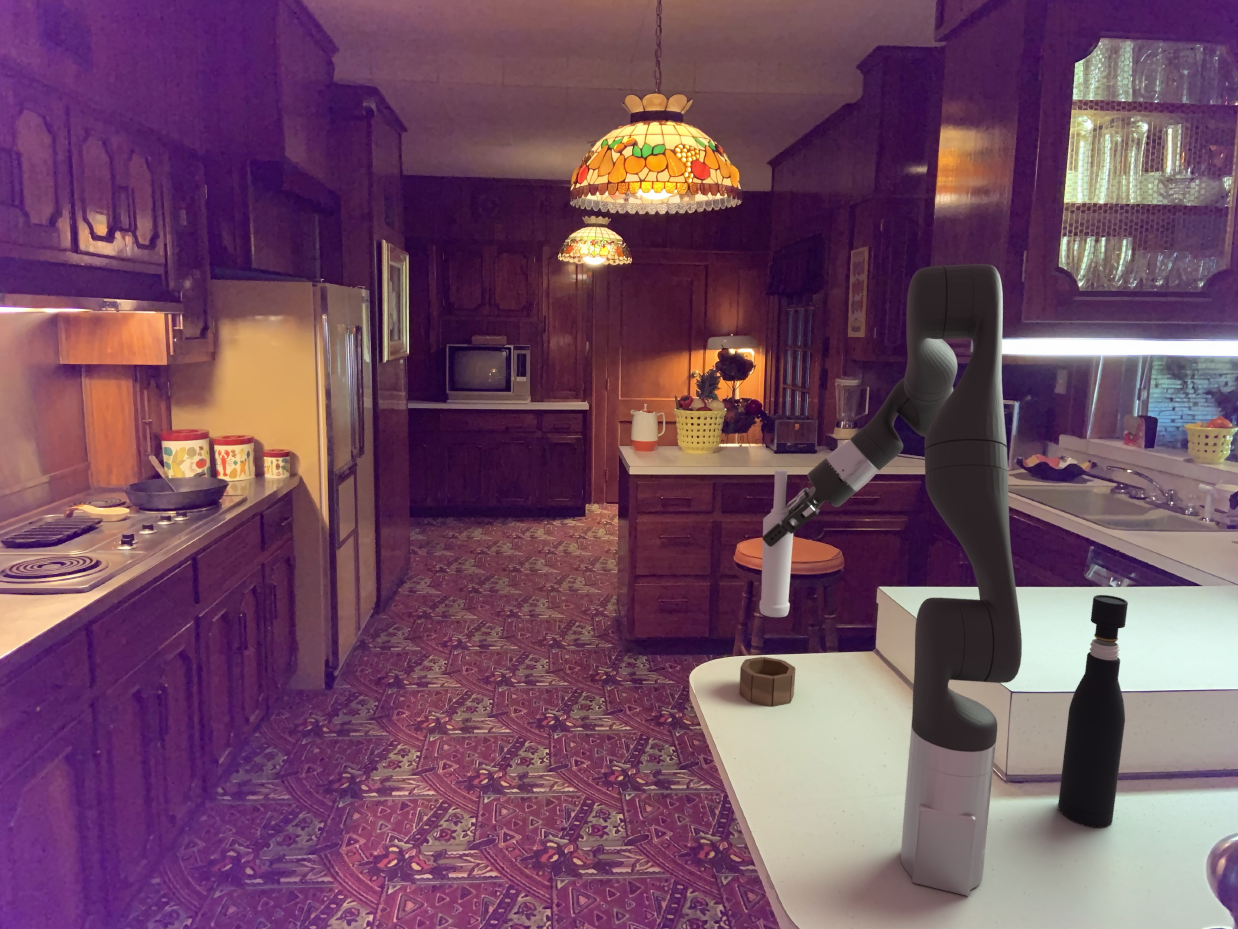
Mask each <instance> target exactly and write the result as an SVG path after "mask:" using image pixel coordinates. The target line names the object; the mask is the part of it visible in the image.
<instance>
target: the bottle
mask: <svg viewBox="0 0 1238 929" xmlns="http://www.w3.org/2000/svg"><path fill="white" fill-rule="evenodd" d="M787 482H788V470H787V469H775V470H774V493H773V508H772V509H770V513H769V514H766V516H765V517H764V518H763V519H762V520H763V522H762V523H763V525H762V526H763V527H762V537H763V536H764V535H765V534H766V533H767V532H768V531H769V530H771V529H772V528H773V527H774V526H775V525H776V524H778V523H779V521H780V520H781V519H783V518H784V517H785V516H786V515H787V510H786V509H785V506H786V501H787V498H786V497H787V495H786V494H787ZM789 522H790V523H791V524H792V525H793V524H794V523H795V521H794V520H793V519H791V520H790V521H789ZM793 540H794V533H792V534H790V533H789V534H788V533H787V534H786V535H785V536H784V537H783V538H781V539H780V540H779V541H778V542H777V543H776V544H774V545H773V546H772V547H770V546H768V545H767V544H766V543H765V541H764V540H763V539H762V558H761V560H762V562H761V564H762V566H761V592H760V593H761V594H760V595H761V596H760V597H761V599H760V600H759V612H760V614H762V615H764V616H766V617H771V618H783V617H786V616H788V615H789V611H790V606H791V604H790V602H789V599H790V598H789V595H790V583H791V572H792V571H791V569H792V554H793V543H794V542H793Z"/></svg>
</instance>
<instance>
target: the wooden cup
mask: <svg viewBox="0 0 1238 929" xmlns="http://www.w3.org/2000/svg"><path fill="white" fill-rule="evenodd" d="M739 669H740V670H739V673H740V674H739V675H740V676H739V689H738V690H739V691H738V692H739V695H740V696H741V697H742V698H744V699H745V700H747V701H748V702H749V703H752V704H755V705H761V706H768V707H776V706H782V705H788V704H790V703H792V700H793V698H794V697H795V683H796V681H795V680H796V667H795V666H794V665H792V664H790V663H789V662H787V661H785V660H783V659H779V658H772V657H768V656H759V657H758V656H757V657H753V658H746V659H744V660H743V662H742V664H741V666H740V668H739Z"/></svg>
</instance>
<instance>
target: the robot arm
mask: <svg viewBox="0 0 1238 929" xmlns="http://www.w3.org/2000/svg"><path fill="white" fill-rule="evenodd" d="M908 286H909V287H908V290H907V297H906V299H907V300H906V316H905V317H906V323H905V324H906V330H905V331H906V348H907V350H906V351H907V364H906V368H905V374H904V377H902V379H901V380H899V381H898V382H897V383H895V385H894V387H893V389H892V390H891V391H890V393H889V394H888V396H887V397H886V399H885V400H884V402H883V403H882V405H881V406H880V407H879V409H878V411H877V412H876V413H875V414H874V416H873V417H872V418H871V419H870V421H868V423H867V424H865V425H864V426H863V427H862V428H860V430H858V431H857V432H856V433H855V434H854V435H853V436H851V438H849V439H848V440H847V441H845V442H844V443H842V444H840V446H838V447H836V449H835V450H833V451H831V453H830V454H828V455H827V456H826V457H824V459H823V460H821V461H820V462H819V463H818V464H817V465H816V466H814V467H813V468H812V469H811V470H810V471H809V472H808V473H807V478H808V480H809V482H810V483H811V484H812V487H810V488H808V487H804V488H803V489H802V490H801V491H800V492H798V494H797V495H796V496H795V497H794V498H793V499H792V500H790V501H789V502H788V503H787V504H785V509H786V510H787V515H786V516H785V517H784V518H783V519H781V520H780V521H779V523H778V524H776V525H775V526H774V527H773V528H772V529H771V530H769V531H768V532H767V533H766V534H765V535H764V536H763V535H762V541H763V540H764V541H765V543H766V544H767V545H768V546H770V547H772V546H773V545H774V544H776V543H777V542H778V541H779V540H780V539H781V538H783V537H784V536H785V535H786V534H787V533H788V534H789V533H790V534H792V533H793V534H795V532H797V531H798V530H799V529H800V528H802V527H803V526H804V525H805V524H807V523H808V522H809V521H810V520H811V519H813V518H815V517H817V515H818V514H819V513H820V511H822V510H821V508H820V507H821V506H822V505H823V504H825V503H824V502H829V504H830V505H832V506H833V507H835V508H839V507H840V506H841V505H843V504H845V502H847V501H848V500H849V499H850V498H851V497H853V495H855V494H856V493H857V492H858V491H859V490H861V489H862V488H863V487H864V486H865V485H866V484H868V483H869V482H870V481H871V480H872V479H873V478H874V477H875V475H876V474H878V472H879V471H881V470H882V469H883V468H884V467H885V466H888V464H889V463H890V462H892V460H894V459H895V458H896V457H897V456H899V455H900V454H901V452H902V451H903V449H904V444H903V442H902V439H901V438H900V435H899V434H898V433H897V430H896V429H895V427H894V426H895V421H896V419H897V417H898V416H899V417H901V418H902V419H903V420H904V421H905V422H906V423H907V425H908V426H910V428H911V429H912V430H913V431H914V433H916V434H917V435H919V436H921V437H924V474H925V477H924V478H925V480H924V481H925V489H926V492H927V494H928V497H929V498H930V501H931V503H932V504H933V506H934V508H935V509H936V511H937V512H938V514H939V516H940V517H941V518H942V520H943V521H944V523H945V524H946V525H947V526H948V528H949V529H950V531H951V532H952V534H953V535H954V536H955V537H956V539H957V541H958V542H959V543H960V546H962V549H963V550H964V552H965V554H966V556H967V557H968V560H969V562H970V564H971V567H972V570H973V572H974V576H975V579H976V584H977V588H978V595H979V599H973V598H953V597H929V598H925V600H923V602H922V603H921V604H920V606H919V608H918V611H917V614H916V619H915V632H914V635H915V636H914V669H913V671H914V673H913V674H914V675H913V686H912V687H913V689H912V714H911V716H912V717H911V726H910V727H911V728H910V738H909V748H908V759H907V760H908V761H907V762H908V763H907V770H906V772H907V773H906V785H905V796H904V806H903V807H904V808H903V819H902V820H903V822H902V834H901V836H902V837H901V846H900V847H901V848H900V850H901V851H900V862H901V865H902V867H903V868H904V869H905V871H906V872H907V873H908V875H910V876H911V882H912V883H914V884H917V885H921V886H925V887H930V888H934V889H938V890H942V891H946V892H951V893H955V894H959V895H963V896H967V897H969V896H970V895H971V894H970V893H971V891H972V890H973V889H975V888H977V887H978V886H979V885H980V884H981V883H982V880H983V877H984V876H983V875H984V874H983V873H984V864H985V854H986V844H987V834H988V824H989V813H990V805H991V804H990V802H991V792H992V785H993V784H992V783H993V773H994V763H995V757H996V756H995V754H996V743H997V736H998V734H997V733H998V721H997V718H996V715H995V714H994V713H993V712H992V711H991V710H990V709H989V708H988V707H987V706H986V705H983V704H982V703H980V702H978V701H976V700H975V699H972V698H970V697H967V696H965V695H963V694H960V693H959V692H955V691H954V690H952V689H951V688H949V682H950V681H962V682H977V683H978V682H979V683H991V684H992V683H996V684H1004V683H1005V684H1007V683H1010V682H1012V681H1013V680H1014V679H1016V677H1017V675H1018V674H1019V670H1020V668H1021V664H1022V655H1023V654H1022V653H1023V651H1022V648H1023V647H1022V646H1023V645H1022V644H1023V639H1022V628H1021V620H1020V611H1019V602H1018V596H1017V587H1016V579H1015V572H1014V567H1013V565H1014V564H1013V558H1012V547H1011V534H1010V533H1011V531H1010V512H1009V511H1010V506H1009V505H1010V504H1009V503H1010V502H1009V468H1008V466H1009V462H1008V446H1007V445H1008V444H1007V433H1006V432H1007V431H1006V423H1005V422H1006V421H1005V411H1004V410H1005V409H1004V398H1003V397H1004V396H1003V382H1002V381H1003V380H1002V378H1003V375H1002V370H1003V368H1002V367H1003V366H1002V365H1003V364H1002V363H1003V362H1002V361H1003V318H1004V317H1003V316H1004V315H1003V312H1004V308H1003V306H1004V304H1003V302H1004V301H1003V300H1004V299H1003V286H1002V280H1001V275H1000V273H999V271H998V269H997V268H996V267H995V266H994V265H992V264H986V263H985V264H984V263H979V264H978V263H976V264H975V263H974V264H954V265H953V264H952V265H949V264H947V265H934V266H933V265H932V266H926V267H921V268H919V269H918V270H916V272H915V273H914V274H913V275H912V278H911V280H910V282H909V285H908ZM954 339H958V340H959V339H971V340H972V344H973V345H972V353H971V355H970V359H969V361H968V363H967V366H966V368H965V369H964V372H963V373H962V375H961V377H960V379H959V381H958V383H957V384H956V386H955V387H953V386H954V384H955V379H956V376H957V373H958V360H957V356H956V354H955V352H954V351H953V349H952V348H951V346H950V345H949V344H948V343H947V342H946V341H945V340H954ZM791 519H793V520H794V524H793V525H792V524H791V523H790V522H789V521H790V520H791Z"/></svg>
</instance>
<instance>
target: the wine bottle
mask: <svg viewBox="0 0 1238 929" xmlns="http://www.w3.org/2000/svg"><path fill="white" fill-rule="evenodd" d="M1128 605H1129V602H1128V600H1126V599H1124V598H1121V597H1118V596H1114V595H1108V594H1097V595H1094V596H1093V599H1092V607H1091V612H1090V613H1091V615H1090V622H1091V623H1092V624H1095V631H1094V634H1093V636H1094V637H1095V638H1093V639H1092V640H1091V642H1090V644H1089V645H1090V648H1089V652H1087V654H1086V661H1085V670H1084V675H1083V676H1082V678H1081V680H1080V681H1079V683H1078V685H1077V686H1076V688H1075V690H1074V693H1073V696H1072V698H1071V701H1070V705H1069V708H1068V717H1067V724H1066V725H1067V726H1066V733H1065V741H1064V742H1065V744H1064V751H1063V761H1062V767H1061V768H1062V769H1061V777H1060V786H1059V795H1058V805H1057V807H1058V810H1059V812H1060V813H1061V814H1062V815H1063V816H1064V817H1065V818H1066V819H1068V820H1070V821H1072V822H1074V823H1076V824H1080V825H1082V826H1085V827H1090V828H1105V827H1108V826H1110V825H1112V822H1113V819H1114V811H1115V804H1116V803H1115V802H1116V796H1117V786H1118V780H1119V779H1118V778H1119V774H1120V773H1119V772H1120V764H1121V763H1120V762H1121V755H1122V750H1123V749H1122V748H1123V738H1124V733H1125V732H1124V730H1125V726H1126V725H1125V723H1126V713H1125V711H1126V710H1125V702H1124V698H1123V697H1124V696H1123V693H1122V689H1121V685H1120V681H1119V673H1120V665H1121V659H1120V657H1119V655H1120V653H1119V651H1120V649H1121V648H1120V646H1119V645H1120V644H1119V643H1118V642H1117V641H1118V640H1119V637H1118V636H1119V629H1123V628H1125V626H1126V621H1127V613H1128V612H1127V611H1128Z"/></svg>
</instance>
